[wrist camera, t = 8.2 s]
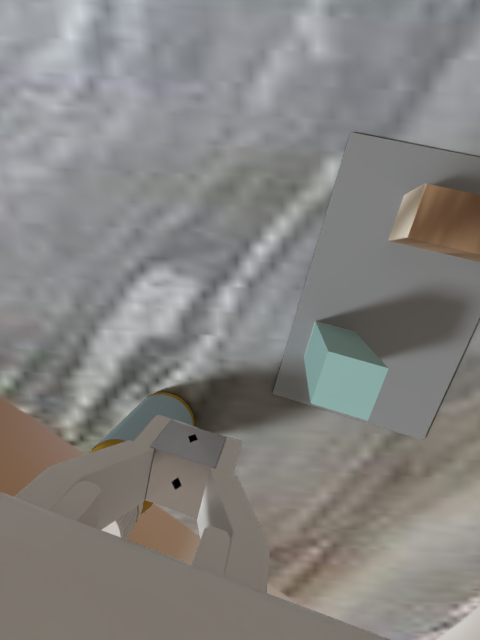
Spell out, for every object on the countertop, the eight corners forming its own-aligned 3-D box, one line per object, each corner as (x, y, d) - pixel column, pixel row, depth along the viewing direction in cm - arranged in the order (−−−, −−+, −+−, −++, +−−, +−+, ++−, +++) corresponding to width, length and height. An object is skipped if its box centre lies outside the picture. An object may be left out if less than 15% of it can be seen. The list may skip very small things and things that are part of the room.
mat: (349, 134, 26) (350, 132, 25) (543, 172, 24) (547, 170, 23) (272, 392, 32) (272, 394, 31) (421, 437, 30) (423, 440, 30)
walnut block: (424, 183, 22) (568, 213, 20) (404, 195, 25) (524, 221, 24) (404, 237, 23) (541, 268, 21) (387, 240, 26) (503, 267, 25)
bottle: (200, 397, 33) (131, 502, 19) (192, 449, 35) (123, 583, 20) (144, 383, 34) (36, 474, 20) (138, 434, 36) (36, 553, 21)
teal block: (315, 321, 29) (328, 351, 19) (355, 331, 28) (388, 368, 19) (303, 357, 30) (310, 403, 20) (342, 368, 29) (367, 420, 20)
